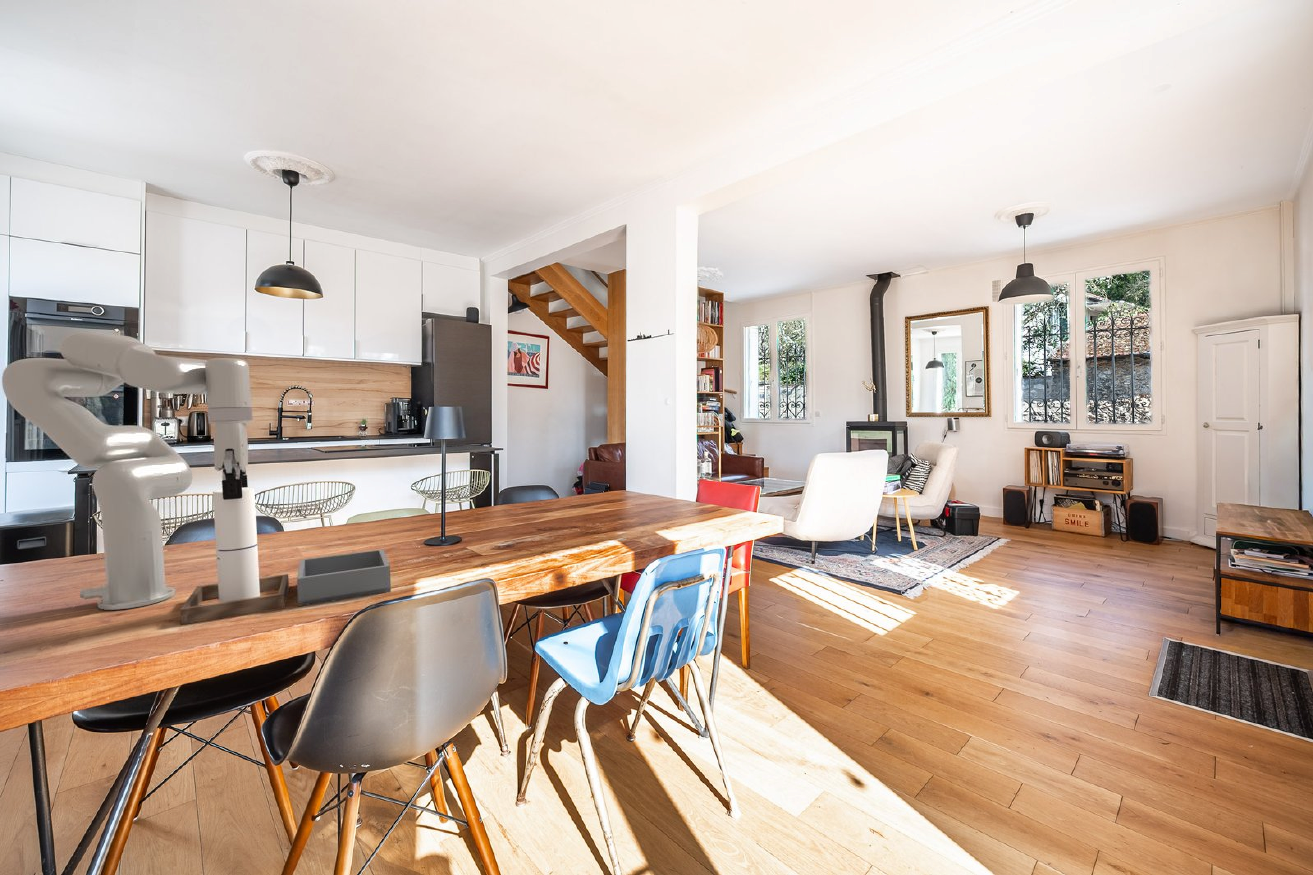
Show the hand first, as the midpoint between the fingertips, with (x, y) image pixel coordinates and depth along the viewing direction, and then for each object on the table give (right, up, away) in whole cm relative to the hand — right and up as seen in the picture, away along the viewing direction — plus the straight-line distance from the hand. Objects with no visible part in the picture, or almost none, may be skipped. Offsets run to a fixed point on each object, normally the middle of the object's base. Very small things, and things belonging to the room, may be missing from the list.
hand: (236, 496), depth 120 cm
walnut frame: (0, -24, +1) cm, 24 cm away
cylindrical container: (0, -24, +1) cm, 24 cm away
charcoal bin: (+17, -23, +12) cm, 31 cm away
